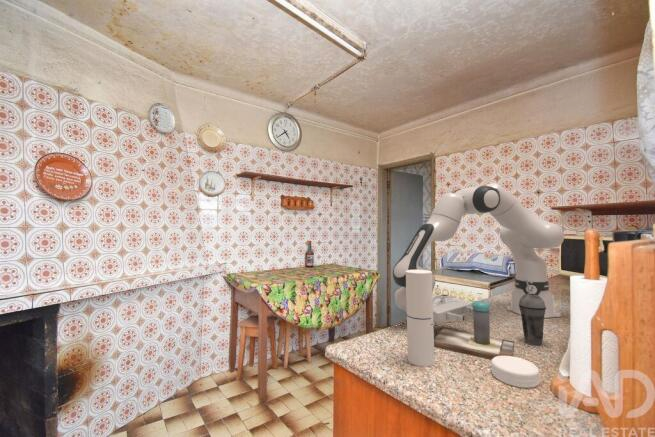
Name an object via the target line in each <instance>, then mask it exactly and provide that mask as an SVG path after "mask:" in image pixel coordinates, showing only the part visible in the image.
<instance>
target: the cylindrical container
mask: <svg viewBox="0 0 655 437" xmlns="http://www.w3.org/2000/svg"><path fill="white" fill-rule="evenodd" d="M428 270H429V269H427V270H406V303H407V312H406V328H407V329H406V333H407V334H406V336H407V337H406V338H407V339H406V340H407V341H406V342H407V343H406V344H407V345H406V346H407V361H408V362H409V363H410V364H412V365H413V366H418V367H424V368H425V367H431V366H434V364H435V347H434V335H435V333H434V331H435V330H434V322H433V294H434V293H433V292H434V290H433V291H432V273H433V271H431V270H429V271H428Z"/></svg>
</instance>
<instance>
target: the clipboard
mask: <svg viewBox="0 0 655 437" xmlns="http://www.w3.org/2000/svg"><path fill="white" fill-rule="evenodd" d="M514 346H515V341H514V340H509V339H504V338H498V337H492V336H490V344H489V345H482V344H478V343H476V342H474V333H470V332H466V331H465V332H464V331H459V330H454V329H448V328H443V327H440V329H438V331H437V332H436V333H434V348H438V349H442V350H443V349H444V350H447V351H451V352H457V353H461V354H464V355H470V356H474V357H479V358H484V359H488V360H490V361H492V359H493V358H494V357H496V356H513V355H514V348H515V347H514ZM513 357H514V356H513Z"/></svg>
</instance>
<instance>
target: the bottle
mask: <svg viewBox="0 0 655 437" xmlns="http://www.w3.org/2000/svg"><path fill="white" fill-rule="evenodd" d="M472 308H473V315H472V316H473V317H472V318H473V319H472V320H473V322H472V323H473V334H474V342H476V343H478V344H482V345H489V344H490V337H491V333H490V332H491V330H490V302H487V301H483V300H482V301H481V300H474V301H472Z"/></svg>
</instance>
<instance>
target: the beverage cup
mask: <svg viewBox="0 0 655 437" xmlns="http://www.w3.org/2000/svg"><path fill="white" fill-rule="evenodd" d="M526 283H527V289H528V294H525V295H523V296H522V297H521V299H520V301H519V308H520V312H521V314H520V316H521V323H522V331H523V338H524V343H526V344H529V345H532V346H542V345H543V341H544V340H543V339H544V325H545V318H544V315H545V309H546V307H545V303H544V301H543V299H542V298H541V297H539V296H538V295H536V294H531V293H530V290H529V284H528V280H526Z"/></svg>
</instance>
